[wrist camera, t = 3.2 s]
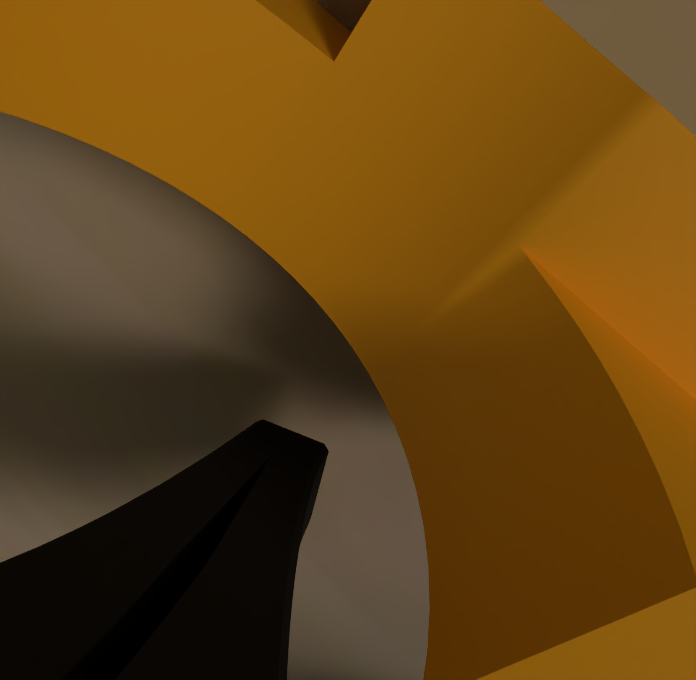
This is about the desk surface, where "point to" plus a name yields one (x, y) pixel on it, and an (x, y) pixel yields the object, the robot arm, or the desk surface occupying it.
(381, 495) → the desk surface
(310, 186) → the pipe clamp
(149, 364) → the desk surface
